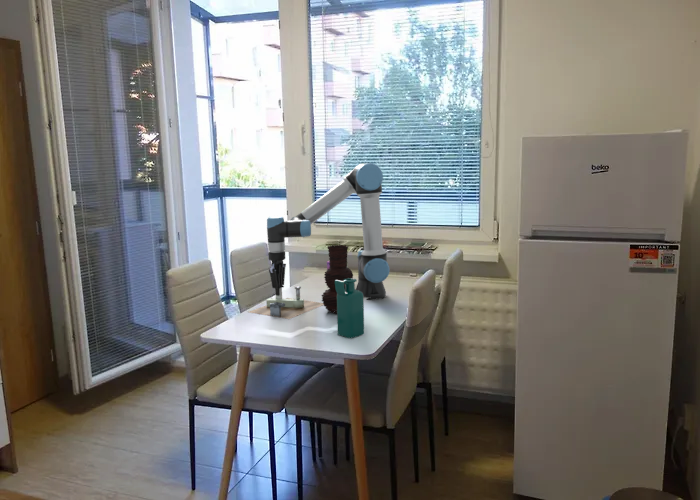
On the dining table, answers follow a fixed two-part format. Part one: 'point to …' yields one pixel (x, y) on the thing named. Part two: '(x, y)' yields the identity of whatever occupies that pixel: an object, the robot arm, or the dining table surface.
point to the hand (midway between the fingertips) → (279, 301)
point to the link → (287, 302)
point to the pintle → (297, 292)
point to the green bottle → (349, 309)
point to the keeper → (276, 309)
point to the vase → (335, 275)
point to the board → (289, 309)
